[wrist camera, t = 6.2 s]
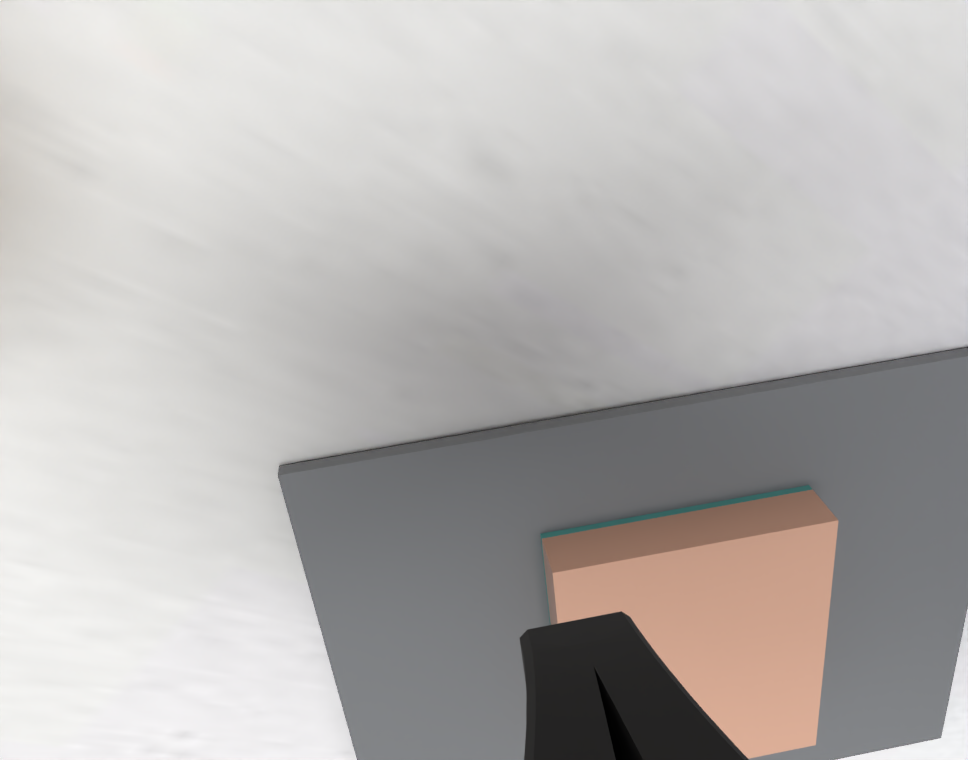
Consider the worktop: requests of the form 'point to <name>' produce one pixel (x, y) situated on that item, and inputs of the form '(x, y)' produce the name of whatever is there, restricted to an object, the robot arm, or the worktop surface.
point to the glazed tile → (717, 603)
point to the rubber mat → (628, 493)
